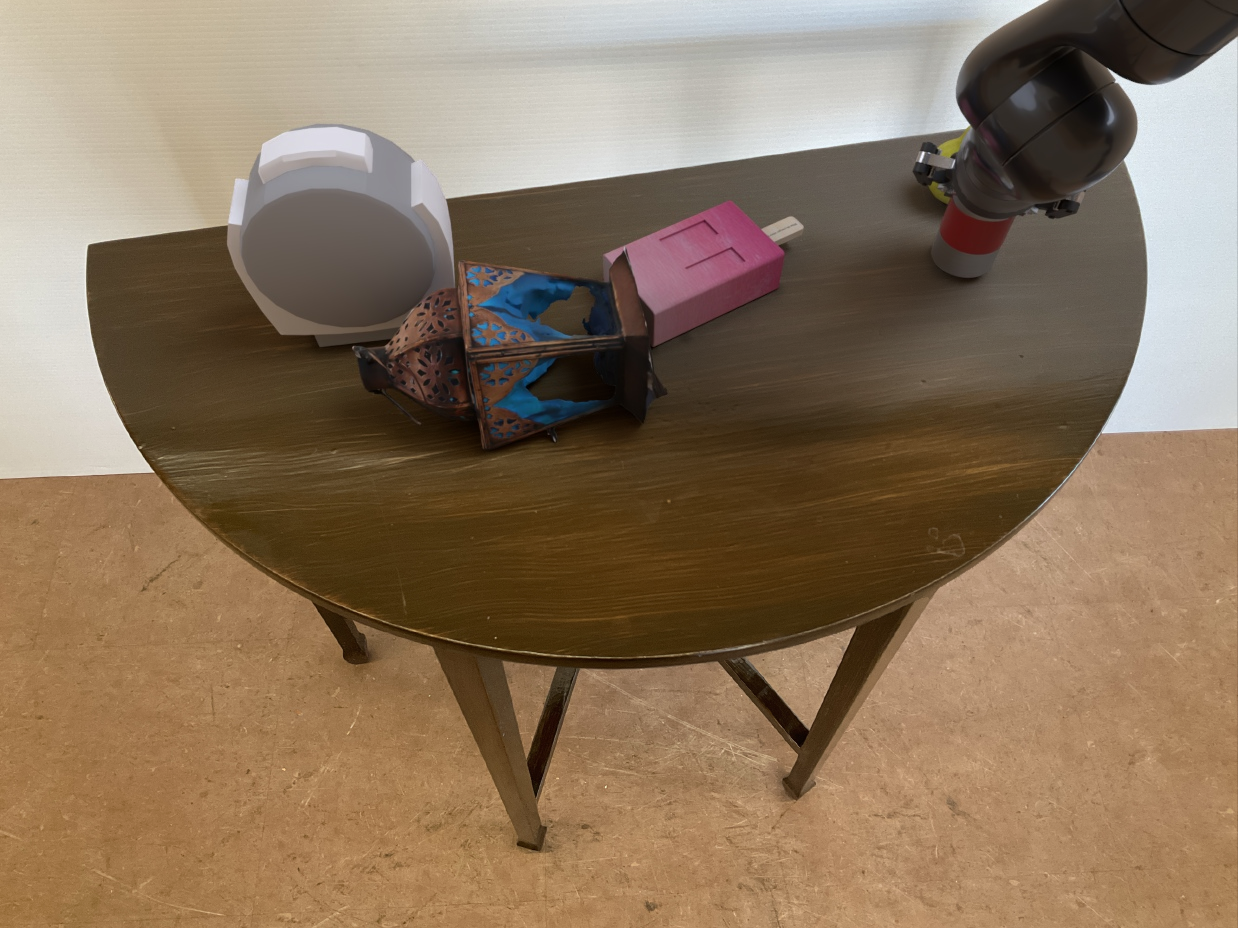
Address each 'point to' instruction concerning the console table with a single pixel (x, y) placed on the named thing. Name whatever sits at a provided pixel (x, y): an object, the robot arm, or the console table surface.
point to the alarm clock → (339, 234)
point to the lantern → (513, 350)
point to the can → (968, 241)
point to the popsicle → (704, 267)
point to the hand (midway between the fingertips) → (986, 194)
